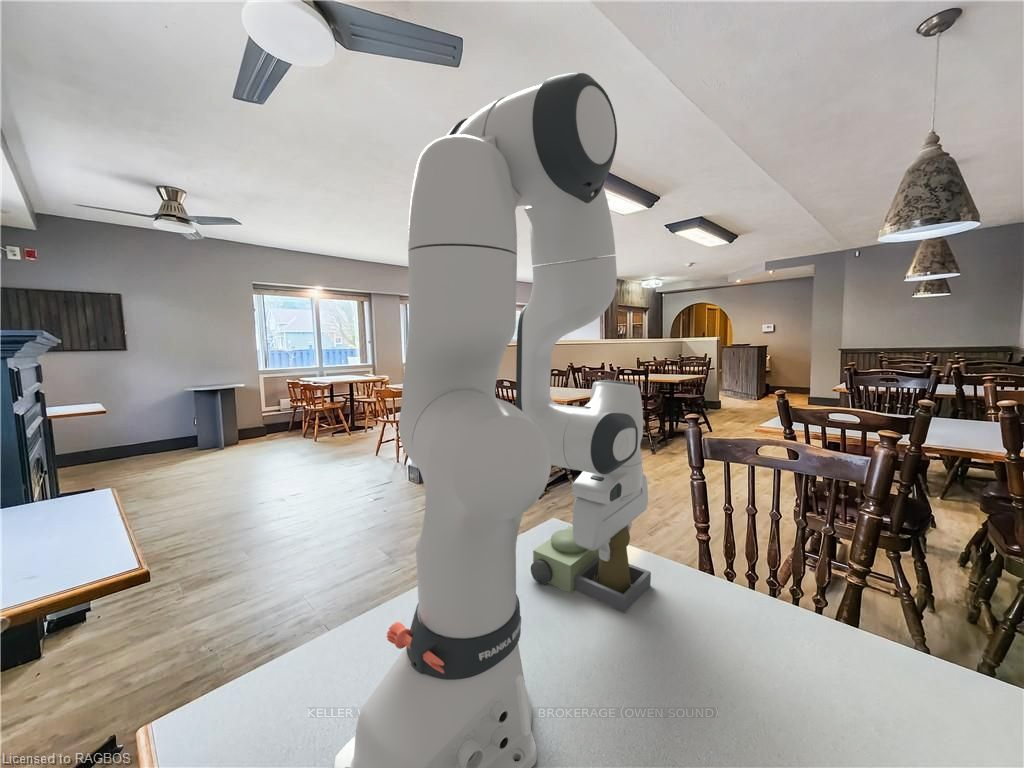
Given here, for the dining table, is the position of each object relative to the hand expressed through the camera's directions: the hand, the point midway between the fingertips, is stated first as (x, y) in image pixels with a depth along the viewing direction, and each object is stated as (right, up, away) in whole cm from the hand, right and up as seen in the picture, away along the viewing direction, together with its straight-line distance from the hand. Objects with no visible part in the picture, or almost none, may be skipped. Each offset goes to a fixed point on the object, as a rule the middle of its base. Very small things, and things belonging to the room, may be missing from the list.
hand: (613, 551), depth 74 cm
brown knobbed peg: (0, -7, +1) cm, 7 cm away
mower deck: (-3, -6, +3) cm, 8 cm away
